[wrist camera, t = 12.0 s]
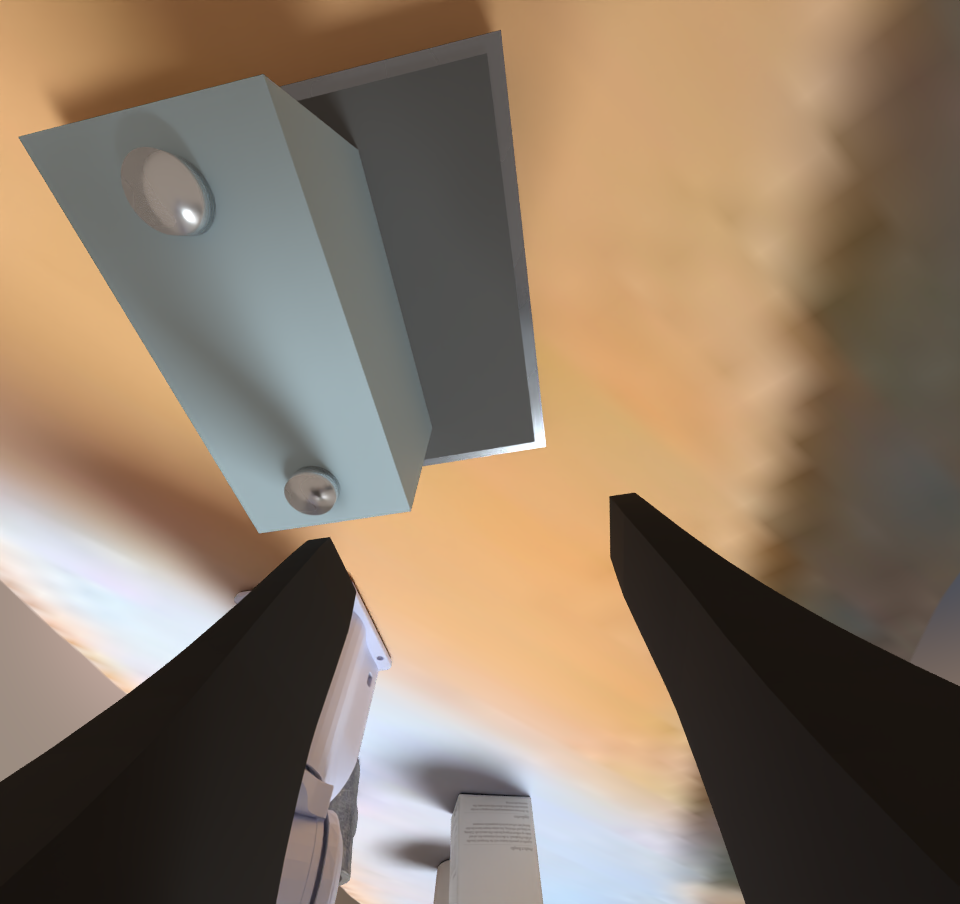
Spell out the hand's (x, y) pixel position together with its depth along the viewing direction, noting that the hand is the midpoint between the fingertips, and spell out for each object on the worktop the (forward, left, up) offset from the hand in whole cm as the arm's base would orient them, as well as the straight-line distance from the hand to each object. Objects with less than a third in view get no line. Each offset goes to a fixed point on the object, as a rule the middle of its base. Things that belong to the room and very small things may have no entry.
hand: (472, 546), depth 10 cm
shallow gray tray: (+5, +5, -10) cm, 12 cm away
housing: (+5, +5, -8) cm, 10 cm away
